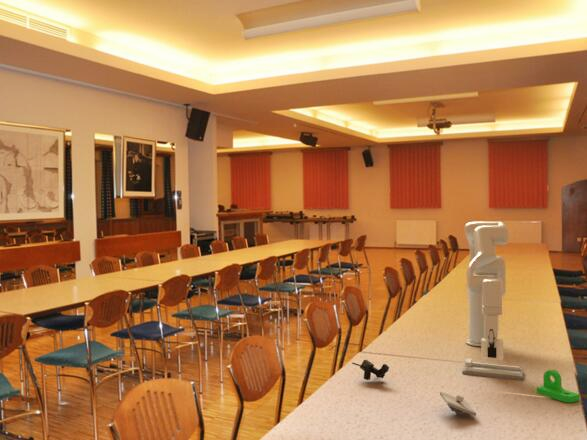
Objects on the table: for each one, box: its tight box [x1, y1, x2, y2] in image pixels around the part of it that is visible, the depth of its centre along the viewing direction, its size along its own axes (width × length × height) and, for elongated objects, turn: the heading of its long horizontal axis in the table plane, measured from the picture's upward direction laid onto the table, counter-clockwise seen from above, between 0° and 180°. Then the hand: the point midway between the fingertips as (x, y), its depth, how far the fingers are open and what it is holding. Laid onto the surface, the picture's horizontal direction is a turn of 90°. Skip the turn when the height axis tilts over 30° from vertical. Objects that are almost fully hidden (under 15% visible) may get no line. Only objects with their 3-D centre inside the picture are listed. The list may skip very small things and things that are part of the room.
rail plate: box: [461, 357, 524, 381], centre depth 208 cm, size 10×22×4 cm, turn 66°
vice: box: [351, 359, 390, 381], centre depth 201 cm, size 18×9×11 cm
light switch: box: [439, 391, 477, 417], centre depth 170 cm, size 9×10×5 cm
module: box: [480, 338, 504, 361], centre depth 207 cm, size 5×8×7 cm, turn 66°
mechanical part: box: [536, 369, 581, 403], centre depth 182 cm, size 12×6×8 cm, turn 32°
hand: (492, 355), depth 207 cm, fingers closed on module, 5 cm apart
